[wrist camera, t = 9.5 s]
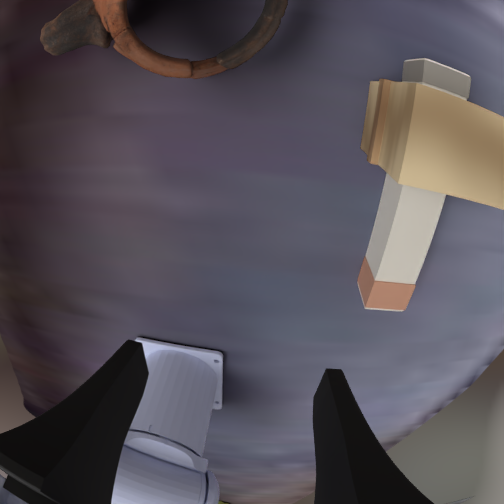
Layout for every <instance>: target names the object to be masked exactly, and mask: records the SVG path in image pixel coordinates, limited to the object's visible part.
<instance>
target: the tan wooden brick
mask: <svg viewBox="0 0 504 504" xmlns="http://www.w3.org/2000/svg"><path fill="white" fill-rule="evenodd" d="M360 148H361V149H362V150H363V151H364V152H365V153H366V154H367V161H368V162H369V163H370V164H375V165H379V166H380V167H381V168H382V169H383V170H384V171H386V172H387V173H388V174H389V175H390V176H391V177H392V178H393V179H394V180H395V181H396V182H397V183H398V184H402V185H407V186H411V187H416V188H421V189H425V190H430V191H434V192H438V193H443V194H447V195H451V196H455V197H459V198H463V199H467V200H470V201H474V202H478V203H482V204H485V205H489V206H492V207H496V208H499V209H503V210H504V117H502V116H500V115H498V114H496V113H494V112H492V111H489V110H487V109H485V108H483V107H480V106H478V105H476V104H473V103H471V102H469V101H466V100H464V99H461V98H459V97H456V96H453V95H451V94H448V93H445V92H442V91H440V90H437V89H434V88H431V87H428V86H425V85H422V84H419V83H410V82H394V81H390V80H387V79H379V81H370V87H369V95H368V102H367V109H366V116H365V122H364V129H363V135H362V141H361V147H360Z"/></svg>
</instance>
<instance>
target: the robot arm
mask: <svg viewBox="0 0 504 504" xmlns="http://www.w3.org/2000/svg"><path fill="white" fill-rule="evenodd" d="M222 386H223V354H222V353H221V352H219V351H213V350H207V349H200V348H194V347H188V346H182V345H176V344H171V343H166V342H160V341H155V340H150V339H145V338H140V337H138V338H136V340H135V341H132V340H127V341H126V342H125V343H124V344H123V345H122V346H121V347H120V348H119V349H118V350H117V351H116V352H115V353H114V355H113V356H112V357H111V358H110V359H109V360H108V361H107V362H106V363H105V364H104V365H103V366H102V367H101V368H100V369H99V370H98V371H97V372H96V373H95V374H93V375H92V376H91V377H90V378H89V379H88V380H87V381H86V382H85V383H84V384H82V385H81V386H80V387H79V388H78V389H77V390H76V391H74V392H73V393H72V394H71V395H69V396H68V397H67V398H65V399H64V400H63V401H61V402H60V403H59V404H57V405H56V406H54V407H53V408H51V409H50V410H48V411H47V412H45V413H43V414H42V415H40V416H38V417H36V418H35V419H33V420H31V421H29V422H27V423H25V424H23V425H21V426H19V427H16V428H14V429H12V430H9V431H7V432H4V433H1V434H0V469H1V470H2V471H4V472H5V473H6V474H8V476H7V479H6V478H4V477H2V476H1V475H0V504H218V502H219V485H218V482H217V480H216V478H215V475H214V474H213V472H211V471H209V470H207V465H208V460H207V459H204V458H202V456H203V451H204V446H205V442H206V437H207V432H208V427H209V422H210V417H211V412H212V409H221V408H222ZM313 430H314V443H315V456H316V489H315V501H314V504H434V503H433V502H431V501H430V500H429V499H428V498H427V497H425V496H424V495H423V494H422V493H421V492H420V491H419V490H418V489H417V488H416V487H415V486H414V485H413V484H412V483H411V482H410V481H409V480H408V479H407V478H406V477H405V475H404V474H403V473H402V472H401V471H400V470H399V469H398V468H397V466H396V465H395V464H394V463H393V461H392V460H391V459H390V457H389V456H388V455H387V453H386V452H385V450H384V449H383V448H382V446H381V445H380V443H379V442H378V440H377V438H376V437H375V435H374V433H373V432H372V430H371V428H370V427H369V425H368V423H367V421H366V420H365V418H364V416H363V414H362V412H361V410H360V408H359V406H358V404H357V402H356V400H355V398H354V396H353V394H352V391H351V389H350V387H349V385H348V382H347V380H346V378H345V375H344V373H343V371H342V370H341V369H326V370H325V373H324V375H323V377H322V379H321V382H320V384H319V386H318V389H317V391H316V393H315V395H314V401H313Z"/></svg>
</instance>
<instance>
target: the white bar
mask: <svg viewBox="0 0 504 504" xmlns="http://www.w3.org/2000/svg"><path fill="white" fill-rule="evenodd" d="M402 82H410V83H419V84H422V85H425V86H428V87H431V88H434V89H437V90H440V91H442V92H445V93H448V94H451V95H453V96H456V97H459V98H461V99H464V100H466V101H467V98H468V99H469V92H470V84H471V77H470V76H469V75H467V74H465V73H462V72H460V71H458V70H455V69H453V68H450V67H448V66H445V65H443V64H440V63H437V62H435V61H432V60H429V59H426V58H421V59H412V60H405V62H404V65H403V74H402ZM445 197H446V194H443V193H438V192H434V191H430V190H425V189H421V188H416V187H411V186H407V185H402V184H398V183H397V182H396V181H395V180H394V179H393V178H392V177H391V176H390V175H389V174H388V173H386V178H385V182H384V187H383V191H382V195H381V199H380V204H379V208H378V212H377V216H376V219H375V223H374V227H373V231H372V234H371V238H370V242H369V245H368V249H367V252H366V256H365V257H364V260H363V263H362V267H361V270H360V273H359V276H358V280H357V284H358V287H359V291H360V294H361V298H362V301H363V305H364V308H365V309H373V310H387V311H402V312H403V310H405V309H406V307H407V305H408V303H409V300H410V298H411V296H412V294H413V291H414V289H415V286H416V285H415V283H416V280H417V278H418V275H419V273H420V270H421V268H422V265H423V262H424V260H425V257H426V254H427V252H428V249H429V246H430V243H431V241H432V238H433V235H434V232H435V229H436V226H437V223H438V220H439V217H440V213H441V210H442V207H443V204H444V200H445Z"/></svg>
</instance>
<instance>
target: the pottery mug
mask: <svg viewBox="0 0 504 504" xmlns="http://www.w3.org/2000/svg"><path fill="white" fill-rule="evenodd" d="M287 5H288V0H266V1H265V5H264V9H263V12H262V14H261V16H260V17H259V19H258V21H257V22H256V24H255V25H254V27H253V28H252V29H251V31H250V32H249V33H248V34H247V35H246V36H245V37H244V38H243V39H242V40H240V41H239V42H237V43H236V44H235V45H233V46H232V47H230V48H229V49H227V50H225V51H223V52H221V53H219V54H218V55H217V57H214V58H210V59H206V60H201V61H191V62H190V61H189V60H188V59H179V58H173V57H169V56H165V55H162V54H160V53H158V52H156V51H154V50H152V49H151V48H149V47H148V46H146V45H145V44H144V43H143V42H142V41H141V40H140V39H139V38H138V37H137V35H136V34H135V32H134V30H133V29H132V27H131V26H130V24H129V20H128V15H127V0H79V1H78V2H76V3H75V4H73V5H72V6H70V7H69V8H67V9H66V10H64V11H63V12H61V13H60V14H59V15H58V16H57V17H56V18H55V19H54V20H52V21H51V22H48V23H46V24H45V26H44V27H43V28H42V30H41V36H40V40H41V42H42V44H43V45H44V49H45V50H46V51H47V52H49V53H51V54H52V55H61V54H63V53H66V52H68V51H71V50H74V49H77V48H80V47H82V46H85V45H98V46H101V47H103V48H108V47H109V46H110V43H111V41H112V40H113V39H114V40H115V43H114V45H113V47H114V48H115V49H116V50H117V51H118V52H119V53H121V54H122V55H123V56H125V57H127V58H128V59H130V60H132V61H133V62H135V63H136V64H138V65H139V66H140V67H142V68H144V69H146V70H149V71H151V72H153V73H157V74H160V75H162V76H165V77H177V78H194V79H198V78H204V77H208V76H212V75H215V74H218V73H221V72H223V71H226V70H227V69H233V68H236V67H238V66H239V65H241V64H242V63H244V62H246V61H247V60H249V59H250V58H252V57H253V56H254V55H255V54H256V53H257V52H258V51H260V50H261V49H262V48H263V47H264V46H265V45H266V44H267V43H268V42H269V41H270V40H271V38H272V37H273V36H274V34H275V32H276V31H277V29H278V27H279V25H280V23H281V18H282V17H283V16H284V13H285V10H286V7H287Z"/></svg>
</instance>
